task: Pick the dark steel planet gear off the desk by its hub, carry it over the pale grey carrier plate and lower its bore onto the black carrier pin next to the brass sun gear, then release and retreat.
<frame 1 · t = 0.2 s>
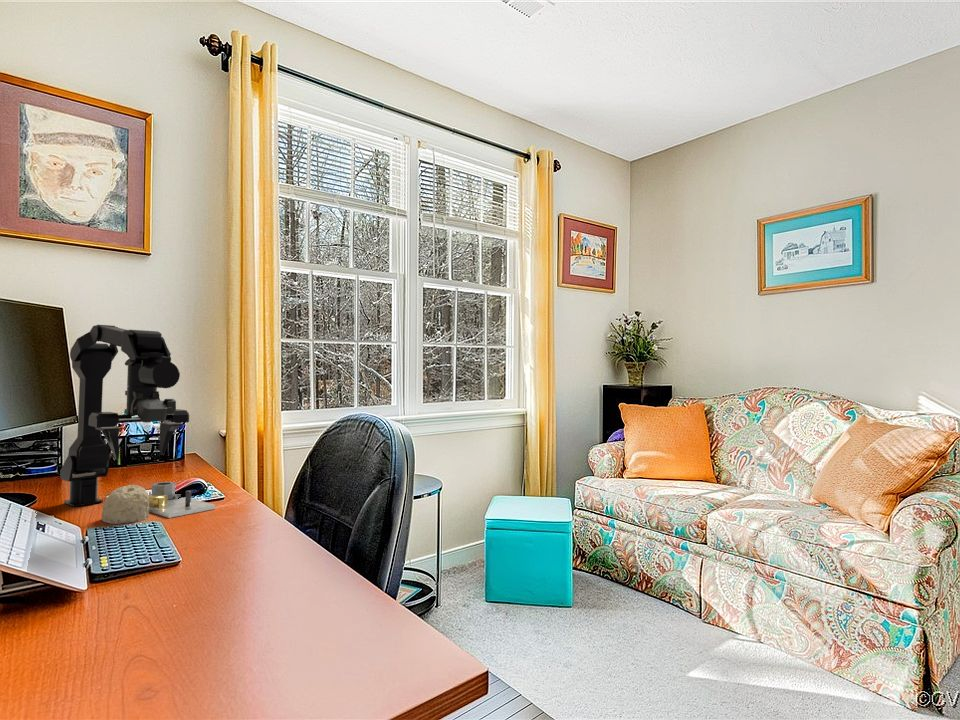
hand: (140, 456, 127), 14 cm above the table, fingers open, 9 cm apart
carrier plate: (178, 509, 138), on the table
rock: (126, 519, 129), on the table
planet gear: (163, 501, 145), on the table
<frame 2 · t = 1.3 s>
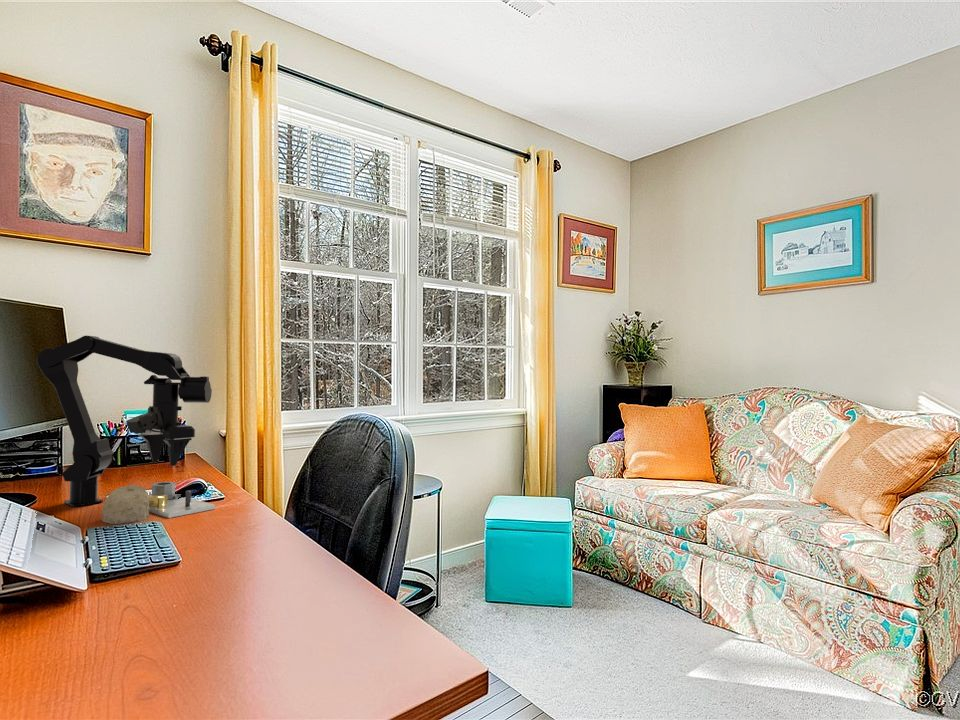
hand: (163, 463, 145), 10 cm above the table, fingers open, 9 cm apart
nothing on the table moved.
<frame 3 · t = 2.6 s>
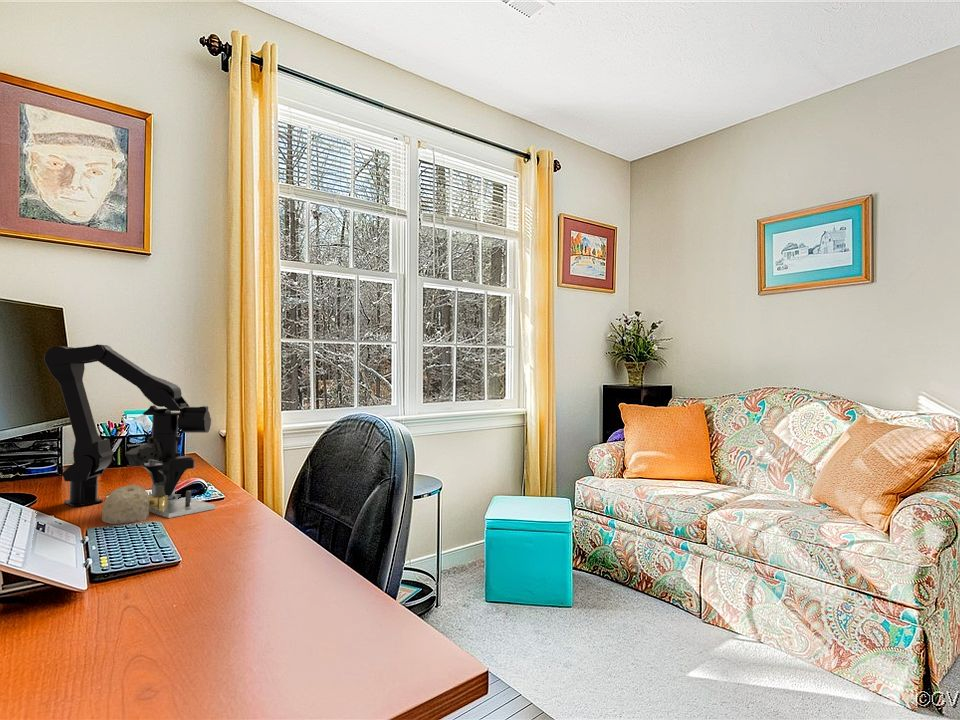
hand: (163, 494, 145), 2 cm above the table, fingers closed on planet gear, 5 cm apart
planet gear: (163, 501, 145), on the table, touching gripper
everything else where it was.
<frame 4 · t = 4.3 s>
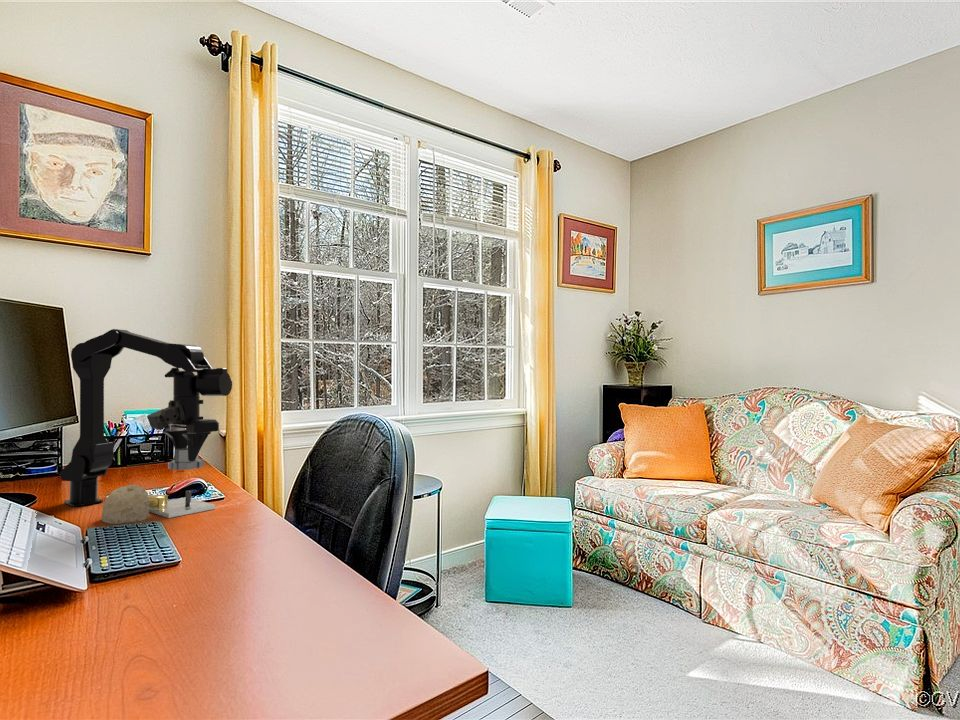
hand: (186, 460, 139), 12 cm above the table, fingers closed on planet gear, 5 cm apart
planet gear: (186, 467, 139), point 10 cm above the table, touching gripper
everything else where it was.
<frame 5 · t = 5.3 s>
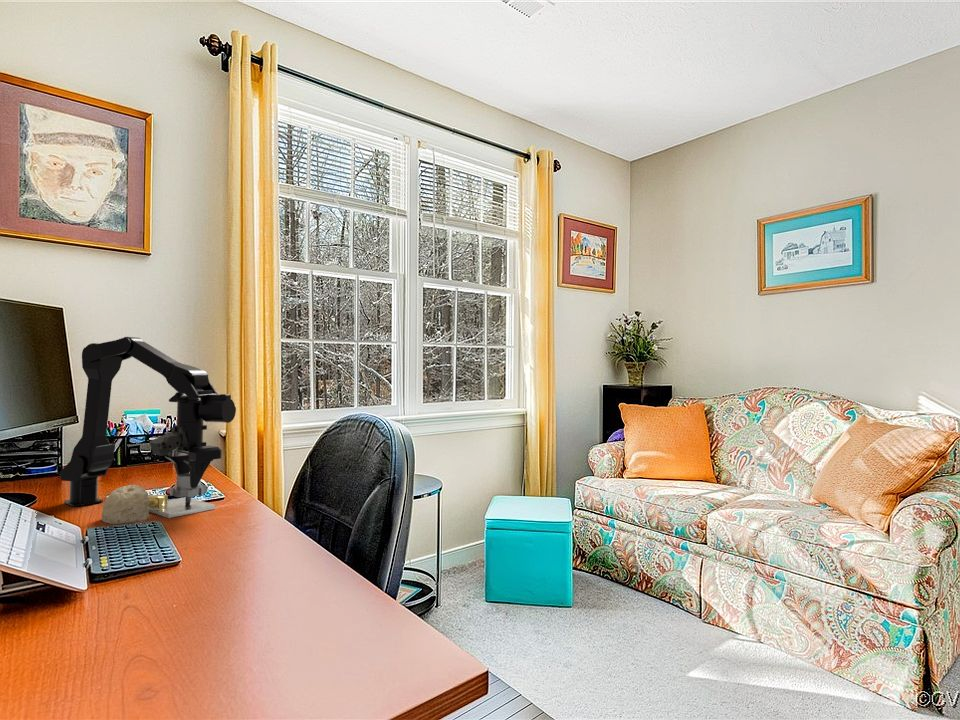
hand: (188, 486, 138), 6 cm above the table, fingers closed on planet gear, 5 cm apart
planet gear: (188, 493, 138), point 4 cm above the table, touching gripper
everything else where it was.
when the fingers open (3 cm above the table, at t = 6.1 s): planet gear stays where it is, resting on carrier plate.
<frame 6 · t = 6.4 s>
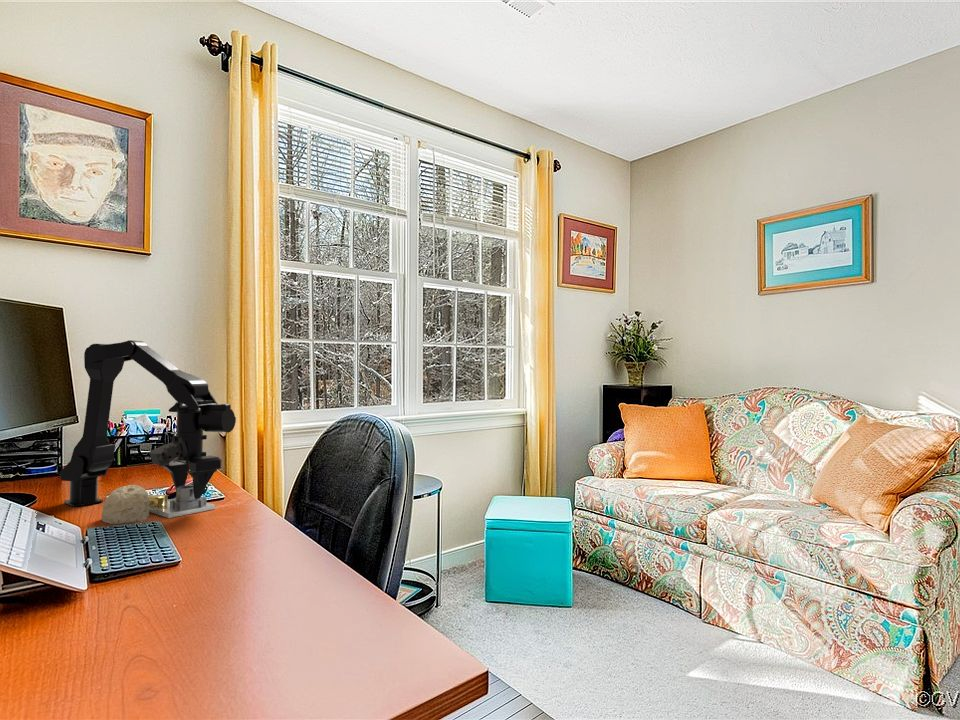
hand: (188, 496, 138), 3 cm above the table, fingers open, 8 cm apart
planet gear: (188, 505, 138), point 1 cm above the table, touching carrier plate
everything else where it was.
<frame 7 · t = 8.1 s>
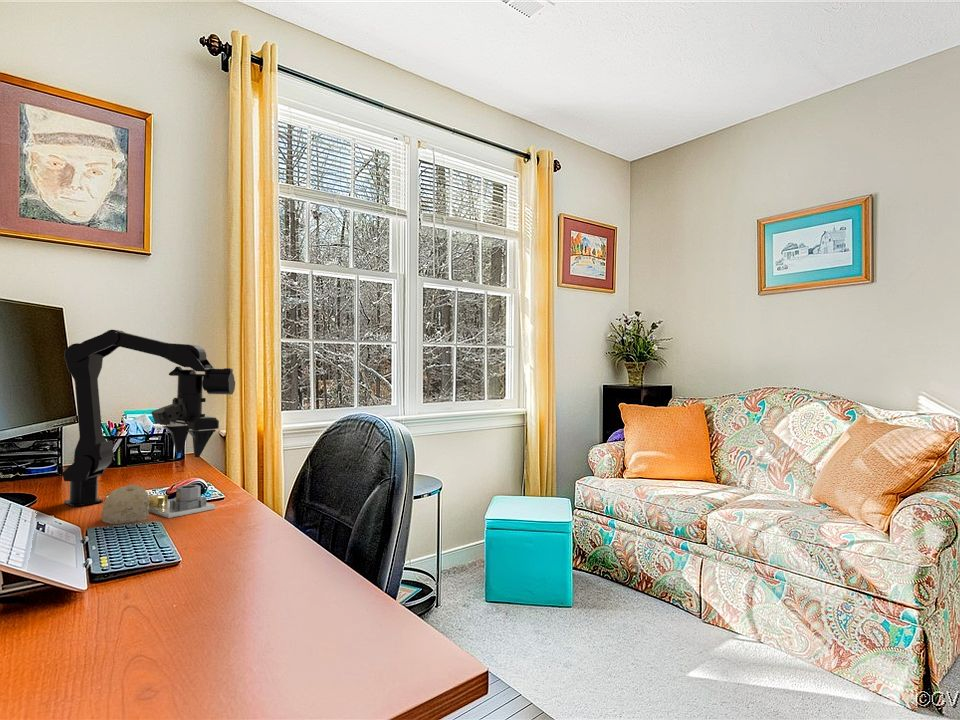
hand: (187, 455, 146), 12 cm above the table, fingers open, 9 cm apart
nothing on the table moved.
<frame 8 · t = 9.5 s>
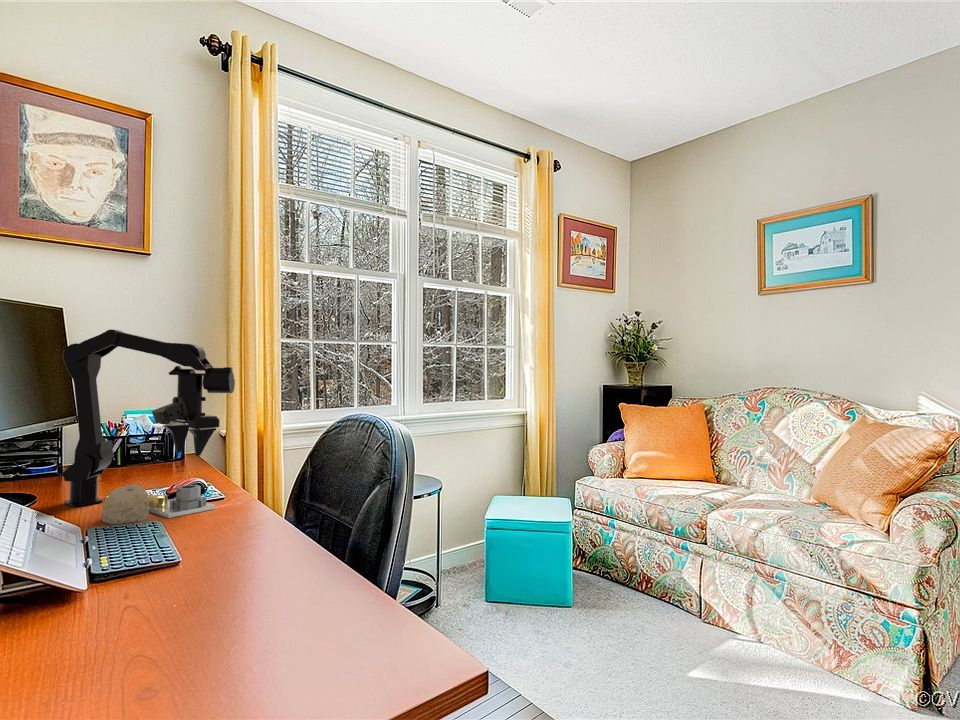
hand: (188, 454, 146), 12 cm above the table, fingers open, 9 cm apart
nothing on the table moved.
at the end: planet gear 0.1 cm from the target spot on the carrier plate, point 1.0 cm above the carrier plate's base; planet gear tilted 0°; the gripper is holding nothing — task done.
